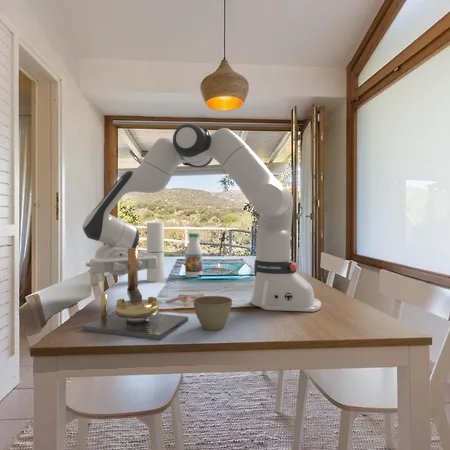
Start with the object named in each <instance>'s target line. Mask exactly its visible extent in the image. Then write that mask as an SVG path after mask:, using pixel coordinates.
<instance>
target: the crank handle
mask: <svg viewBox="0 0 450 450" xmlns="http://www.w3.org/2000/svg"><path fill="white" fill-rule="evenodd" d="M138 250H139V248H138V247H136V248H128V273H127V288H126V294H127V296H128V299H129V300H125V298H119V299H117V300H116V305H115V311H116V315H117V316H119V317H123V318H144V317H149V316H153V315H156V314H157V313H159V312H160V301H159V300H158V299H157V297H156V296H148V298H147V299H143V295H142V294H141V292H140V289H139V288H138V285H139V284H138V280H139V276H138V275H139V271H138ZM159 314H160V313H159Z"/></svg>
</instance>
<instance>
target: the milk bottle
mask: <svg viewBox="0 0 450 450" xmlns="http://www.w3.org/2000/svg"><path fill="white" fill-rule="evenodd" d="M199 240H200V234H199V232H195V233H194V232H190V233H188V244H187V245H186V249H185V254H184V256H185V259H184V260H185V261H184V263H185V266H184V268H185V270H184V271H185V272H184V273H185V274H184V275H185V277H186V278H187V277H196V276H198V275H201V274H202V275H203V251H202V249H203V248H202V246H201V244H200V241H199Z"/></svg>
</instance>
